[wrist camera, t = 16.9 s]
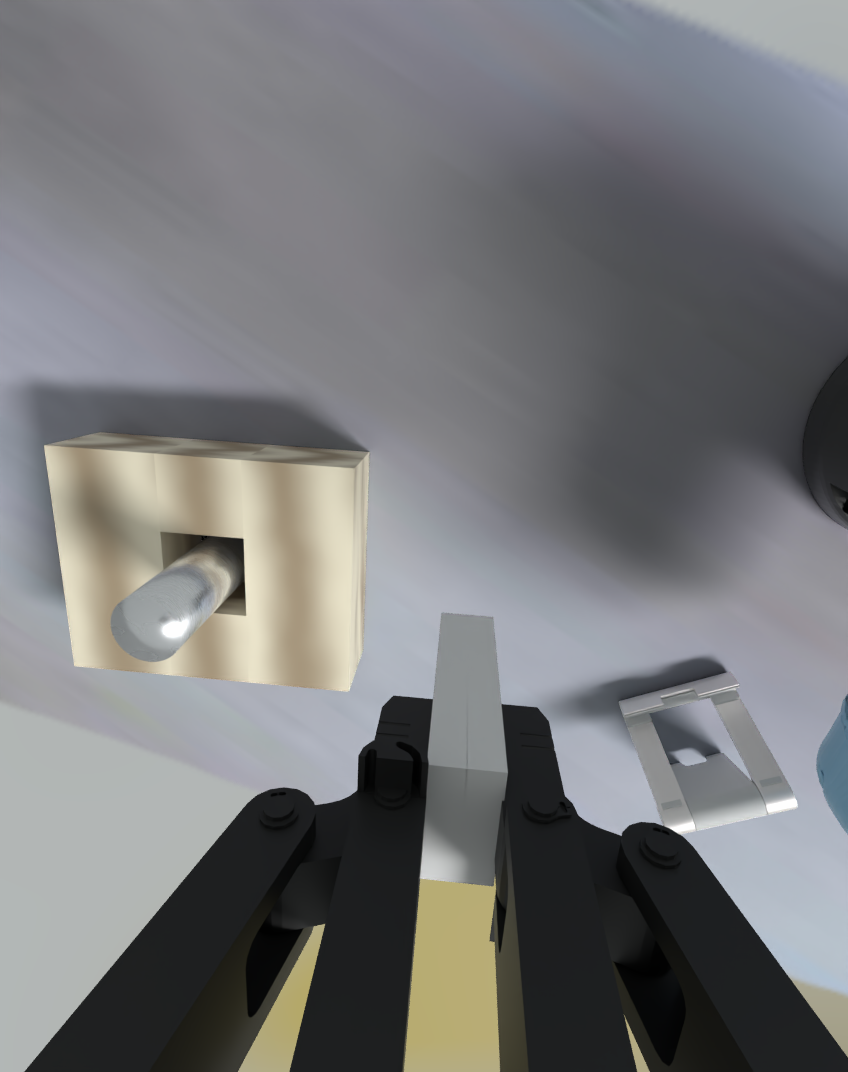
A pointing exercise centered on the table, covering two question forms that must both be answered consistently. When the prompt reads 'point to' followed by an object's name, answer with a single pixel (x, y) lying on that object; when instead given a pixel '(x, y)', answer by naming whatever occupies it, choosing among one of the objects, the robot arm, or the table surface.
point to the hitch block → (226, 511)
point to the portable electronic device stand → (707, 762)
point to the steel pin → (178, 599)
